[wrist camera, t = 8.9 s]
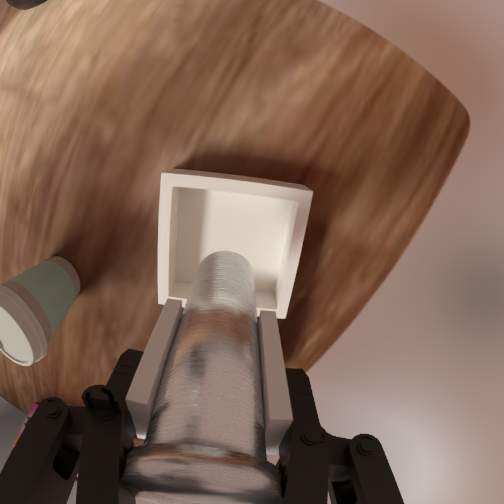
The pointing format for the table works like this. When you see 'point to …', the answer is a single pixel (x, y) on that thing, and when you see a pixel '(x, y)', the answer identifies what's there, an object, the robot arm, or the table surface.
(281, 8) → the table surface
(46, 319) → the coffee cup
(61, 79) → the table surface
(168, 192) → the tray
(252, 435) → the pin
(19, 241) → the table surface
